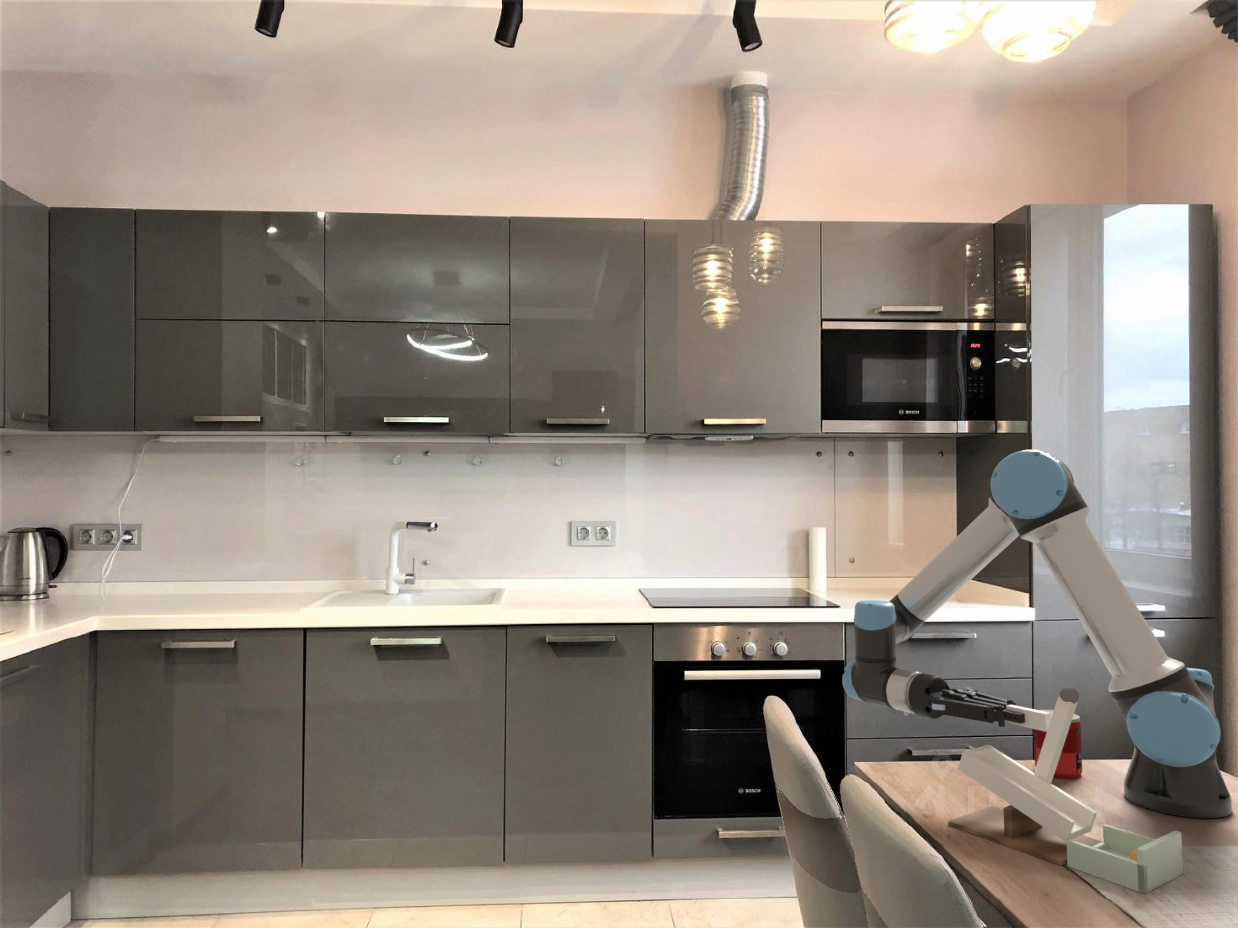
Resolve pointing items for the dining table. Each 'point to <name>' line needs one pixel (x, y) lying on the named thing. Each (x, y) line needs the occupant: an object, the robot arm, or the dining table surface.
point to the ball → (1134, 855)
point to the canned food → (1064, 750)
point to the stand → (1018, 832)
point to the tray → (1114, 863)
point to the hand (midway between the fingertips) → (1048, 722)
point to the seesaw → (1035, 777)
